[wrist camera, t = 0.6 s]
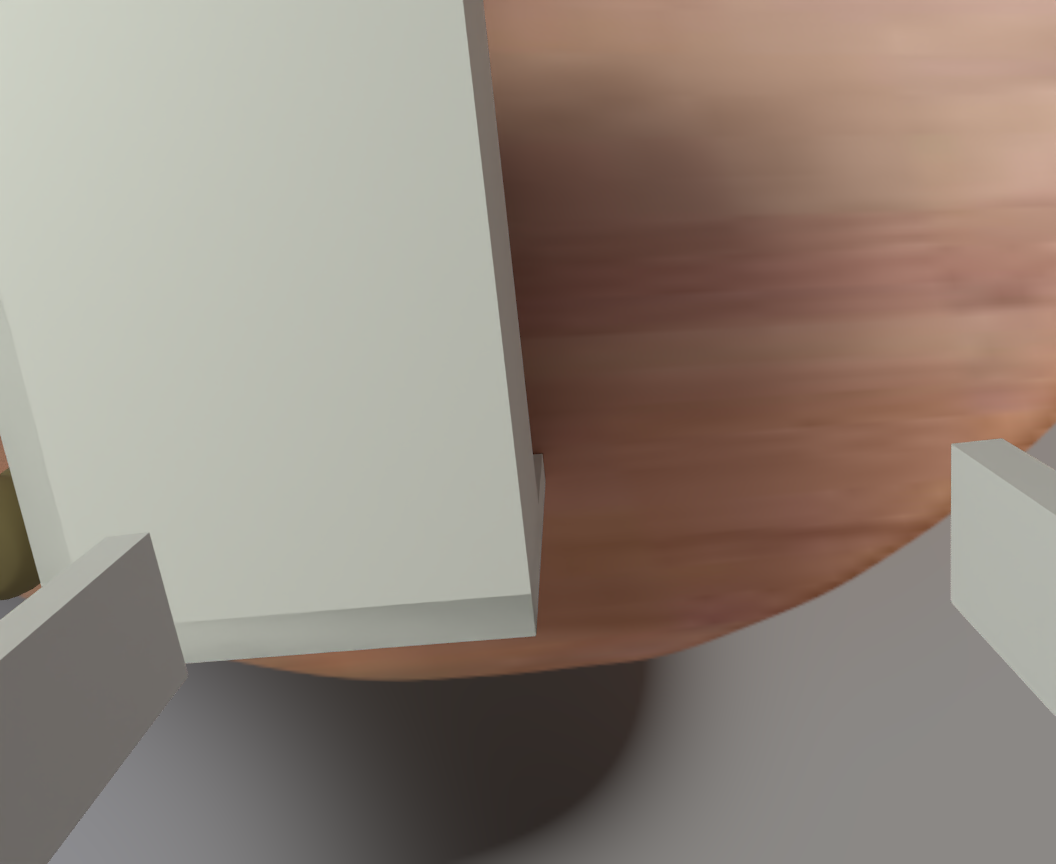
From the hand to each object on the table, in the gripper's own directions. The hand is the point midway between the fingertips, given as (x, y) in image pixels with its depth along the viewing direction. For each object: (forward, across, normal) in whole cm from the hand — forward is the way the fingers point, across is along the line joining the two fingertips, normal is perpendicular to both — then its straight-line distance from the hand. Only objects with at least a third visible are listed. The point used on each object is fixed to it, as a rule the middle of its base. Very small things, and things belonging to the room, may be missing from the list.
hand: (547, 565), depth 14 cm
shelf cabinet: (+28, -9, +3) cm, 30 cm away
